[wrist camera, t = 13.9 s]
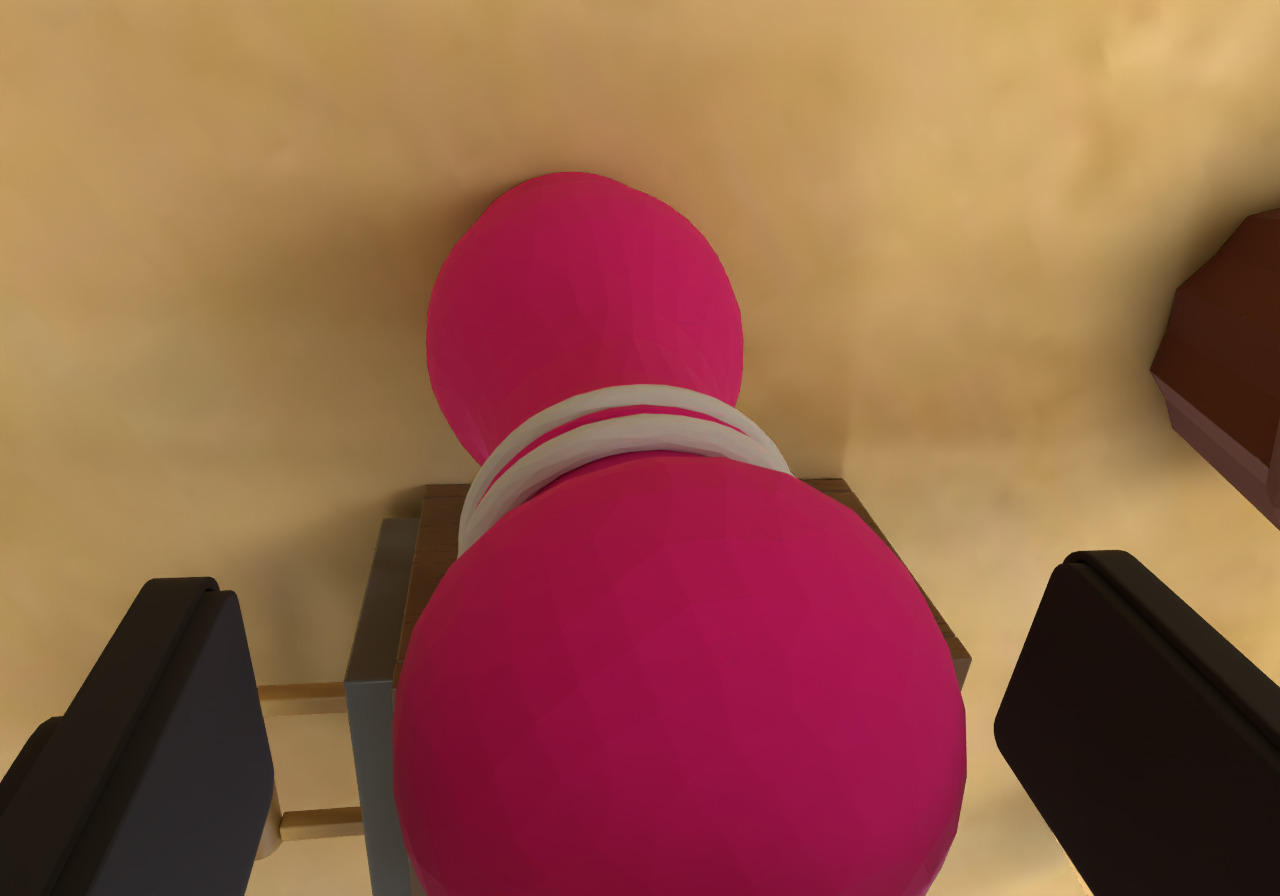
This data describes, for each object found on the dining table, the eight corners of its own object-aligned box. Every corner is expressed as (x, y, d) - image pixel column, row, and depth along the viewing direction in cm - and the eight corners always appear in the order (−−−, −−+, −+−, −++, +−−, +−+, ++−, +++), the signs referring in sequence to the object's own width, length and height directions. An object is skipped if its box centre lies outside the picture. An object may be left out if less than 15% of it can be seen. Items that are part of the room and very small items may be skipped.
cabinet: (442, 759, 31) (422, 1003, 23) (425, 484, 25) (390, 688, 18) (788, 736, 33) (871, 953, 25) (844, 478, 27) (973, 658, 20)
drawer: (280, 779, 29) (222, 980, 23) (228, 520, 24) (135, 692, 18) (740, 748, 31) (795, 920, 25) (783, 509, 26) (864, 655, 20)
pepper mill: (740, 327, 24) (1357, 1175, 7) (531, 445, 25) (593, 1468, 7) (621, 95, 21) (1264, 600, 3) (383, 241, 21) (-143, 1275, 4)
